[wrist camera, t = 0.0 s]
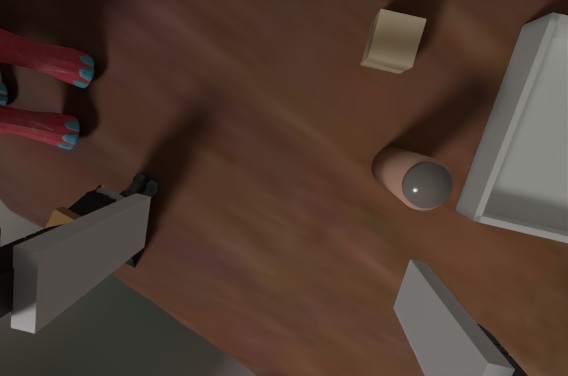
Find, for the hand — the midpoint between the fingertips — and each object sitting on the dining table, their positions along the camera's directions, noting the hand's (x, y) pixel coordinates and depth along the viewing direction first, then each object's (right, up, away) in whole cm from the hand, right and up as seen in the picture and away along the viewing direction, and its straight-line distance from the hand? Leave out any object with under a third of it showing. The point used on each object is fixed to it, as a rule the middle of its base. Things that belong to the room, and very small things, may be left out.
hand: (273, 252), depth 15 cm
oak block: (+13, +21, +23) cm, 34 cm away
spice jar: (+15, +6, +26) cm, 31 cm away
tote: (+35, +9, +24) cm, 44 cm away
